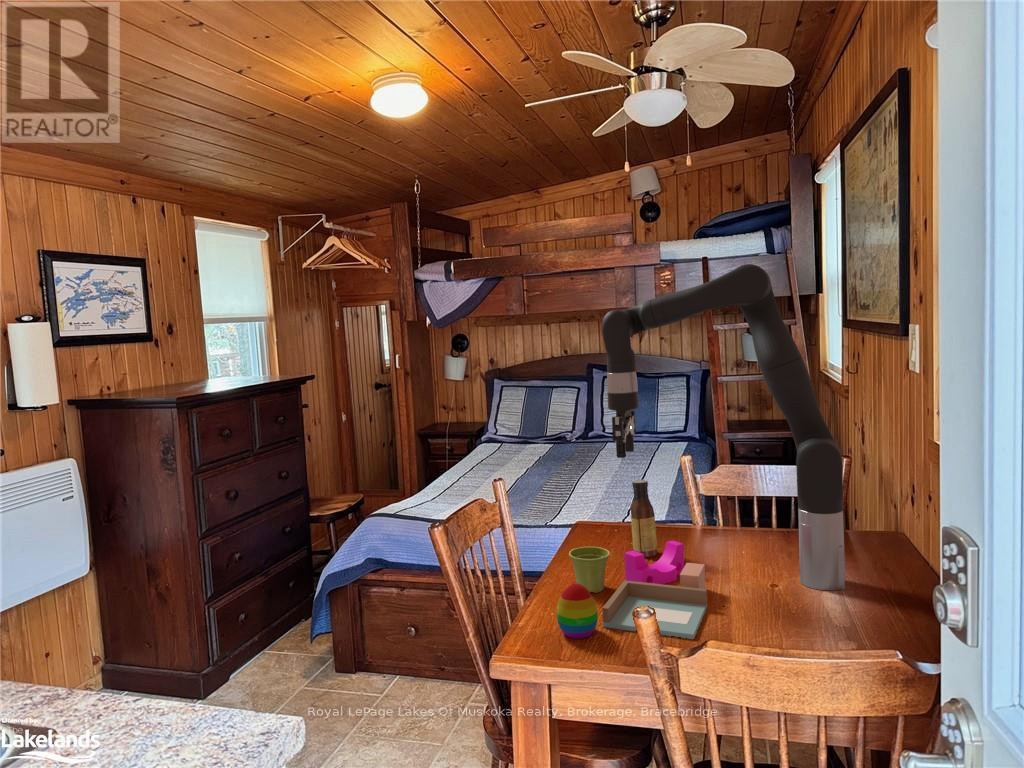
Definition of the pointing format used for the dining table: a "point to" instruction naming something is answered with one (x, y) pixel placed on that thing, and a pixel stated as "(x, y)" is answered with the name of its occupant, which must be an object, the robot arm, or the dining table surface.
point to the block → (693, 576)
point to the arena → (657, 607)
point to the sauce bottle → (643, 520)
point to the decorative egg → (577, 612)
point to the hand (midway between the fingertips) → (625, 454)
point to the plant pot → (590, 567)
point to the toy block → (655, 565)
